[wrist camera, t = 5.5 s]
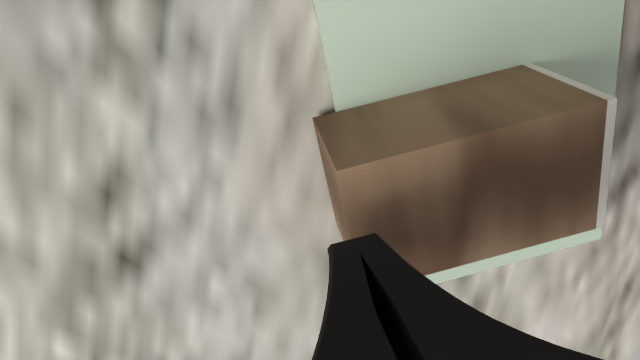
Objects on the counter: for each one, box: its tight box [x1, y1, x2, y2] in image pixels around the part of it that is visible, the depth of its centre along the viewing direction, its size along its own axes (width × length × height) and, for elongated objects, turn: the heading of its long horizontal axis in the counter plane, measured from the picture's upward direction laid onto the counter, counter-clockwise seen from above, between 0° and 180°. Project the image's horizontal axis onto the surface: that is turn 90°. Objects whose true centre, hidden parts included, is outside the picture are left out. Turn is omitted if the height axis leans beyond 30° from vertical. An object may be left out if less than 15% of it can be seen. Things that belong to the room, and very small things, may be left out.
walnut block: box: [313, 63, 618, 276], centre depth 16 cm, size 4×4×8 cm
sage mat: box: [313, 0, 625, 284], centre depth 18 cm, size 14×11×1 cm
